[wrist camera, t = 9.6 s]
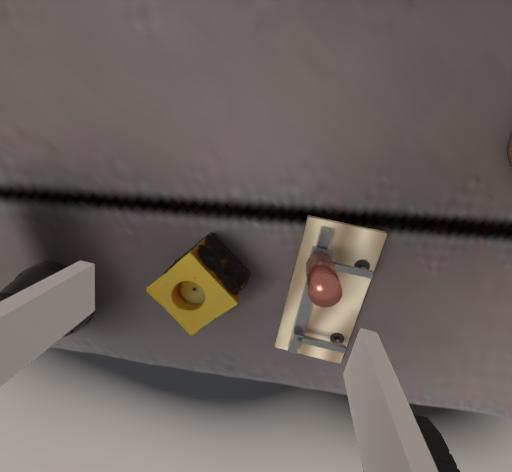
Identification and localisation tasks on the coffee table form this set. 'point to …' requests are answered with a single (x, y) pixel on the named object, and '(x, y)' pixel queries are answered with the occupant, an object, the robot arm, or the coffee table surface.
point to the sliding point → (328, 277)
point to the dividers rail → (304, 309)
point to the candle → (201, 284)
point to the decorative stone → (510, 150)
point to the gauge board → (353, 287)
